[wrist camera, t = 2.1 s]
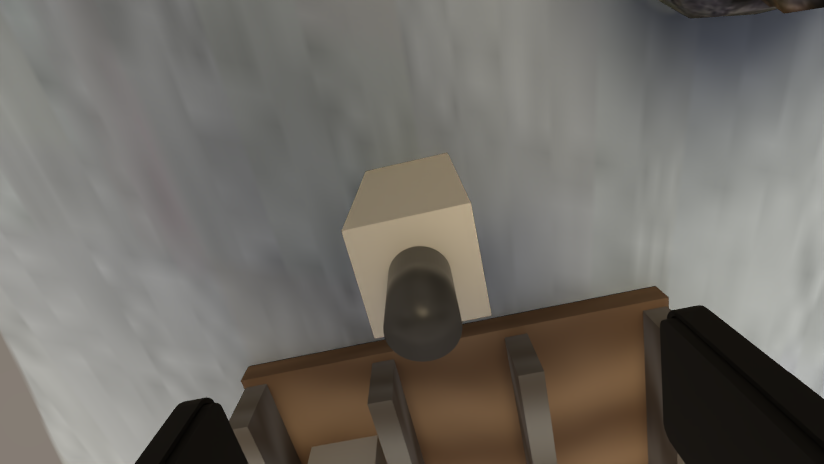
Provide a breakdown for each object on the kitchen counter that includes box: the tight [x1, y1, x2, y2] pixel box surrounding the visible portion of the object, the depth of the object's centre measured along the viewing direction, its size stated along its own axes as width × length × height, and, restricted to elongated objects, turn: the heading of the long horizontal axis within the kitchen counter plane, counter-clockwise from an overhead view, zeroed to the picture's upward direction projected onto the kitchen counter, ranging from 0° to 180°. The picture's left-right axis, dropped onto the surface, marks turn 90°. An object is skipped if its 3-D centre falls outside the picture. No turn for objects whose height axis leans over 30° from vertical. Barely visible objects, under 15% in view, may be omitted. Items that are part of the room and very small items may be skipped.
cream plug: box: [342, 153, 492, 362], centre depth 16 cm, size 4×4×11 cm
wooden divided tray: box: [229, 286, 685, 464], centre depth 24 cm, size 15×23×4 cm, turn 103°
